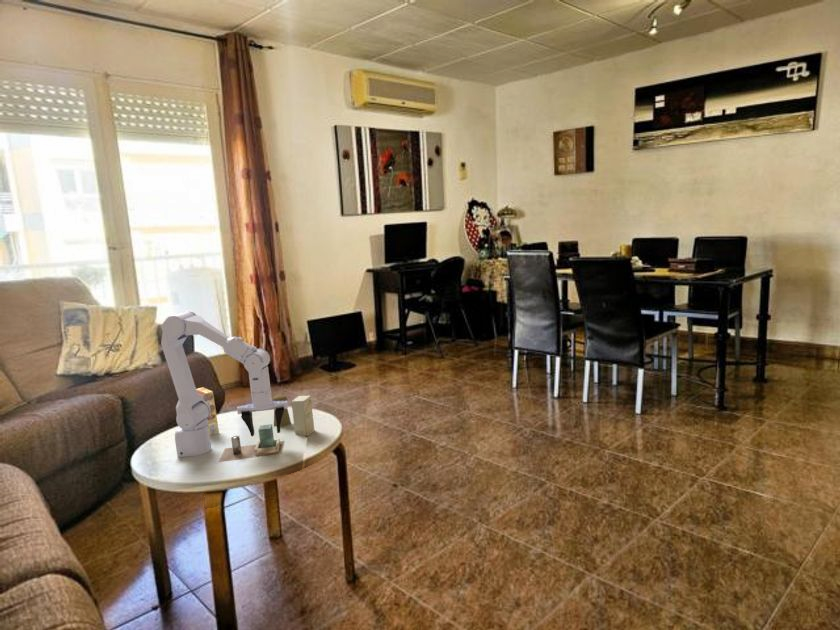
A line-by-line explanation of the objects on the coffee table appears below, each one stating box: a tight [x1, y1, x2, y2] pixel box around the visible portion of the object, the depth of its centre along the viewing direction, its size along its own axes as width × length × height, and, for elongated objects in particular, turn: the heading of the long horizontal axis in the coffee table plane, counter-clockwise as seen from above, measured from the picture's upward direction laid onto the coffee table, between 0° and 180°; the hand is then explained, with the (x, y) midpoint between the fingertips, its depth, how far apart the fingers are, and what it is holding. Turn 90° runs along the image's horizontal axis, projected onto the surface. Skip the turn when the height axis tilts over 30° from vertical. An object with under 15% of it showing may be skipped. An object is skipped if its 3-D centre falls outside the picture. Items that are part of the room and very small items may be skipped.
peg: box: [258, 423, 275, 448], centre depth 165 cm, size 4×4×7 cm
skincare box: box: [290, 395, 315, 438], centre depth 178 cm, size 6×4×12 cm
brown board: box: [218, 438, 285, 463], centre depth 164 cm, size 18×10×2 cm, turn 100°
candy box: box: [196, 387, 220, 436], centre depth 184 cm, size 9×4×15 cm, turn 44°
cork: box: [272, 394, 292, 428], centre depth 186 cm, size 6×6×11 cm
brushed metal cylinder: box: [230, 435, 242, 455], centre depth 163 cm, size 2×2×5 cm
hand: (265, 433), depth 164 cm, fingers open, 7 cm apart
